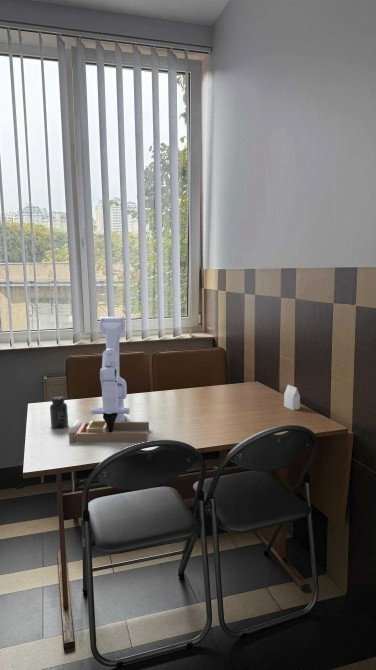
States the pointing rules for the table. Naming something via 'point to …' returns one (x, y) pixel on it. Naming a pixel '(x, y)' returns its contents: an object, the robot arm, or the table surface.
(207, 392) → the table surface
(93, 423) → the crate
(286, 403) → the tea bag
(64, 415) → the supplement bottle
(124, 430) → the bay
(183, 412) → the table surface
